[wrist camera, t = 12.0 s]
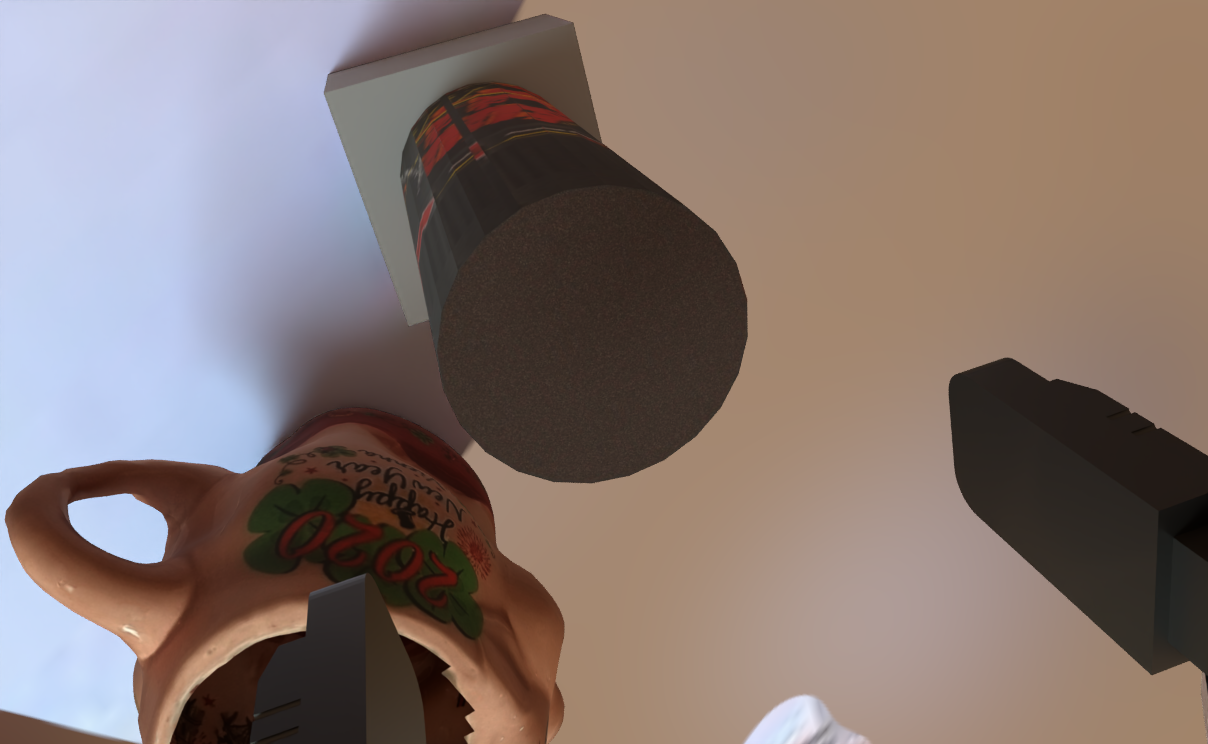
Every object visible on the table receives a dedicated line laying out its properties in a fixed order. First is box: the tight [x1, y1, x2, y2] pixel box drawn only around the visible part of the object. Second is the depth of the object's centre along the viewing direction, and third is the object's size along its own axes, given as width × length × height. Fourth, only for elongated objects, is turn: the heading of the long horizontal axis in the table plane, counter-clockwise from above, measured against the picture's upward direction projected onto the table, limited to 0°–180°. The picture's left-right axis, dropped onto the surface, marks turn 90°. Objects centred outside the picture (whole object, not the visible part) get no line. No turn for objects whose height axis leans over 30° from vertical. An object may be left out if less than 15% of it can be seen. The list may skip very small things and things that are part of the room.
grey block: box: [324, 14, 602, 326], centre depth 33 cm, size 8×8×5 cm
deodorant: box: [400, 82, 748, 483], centre depth 24 cm, size 6×6×15 cm
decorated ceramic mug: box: [5, 408, 564, 744], centre depth 33 cm, size 20×12×14 cm, turn 57°
